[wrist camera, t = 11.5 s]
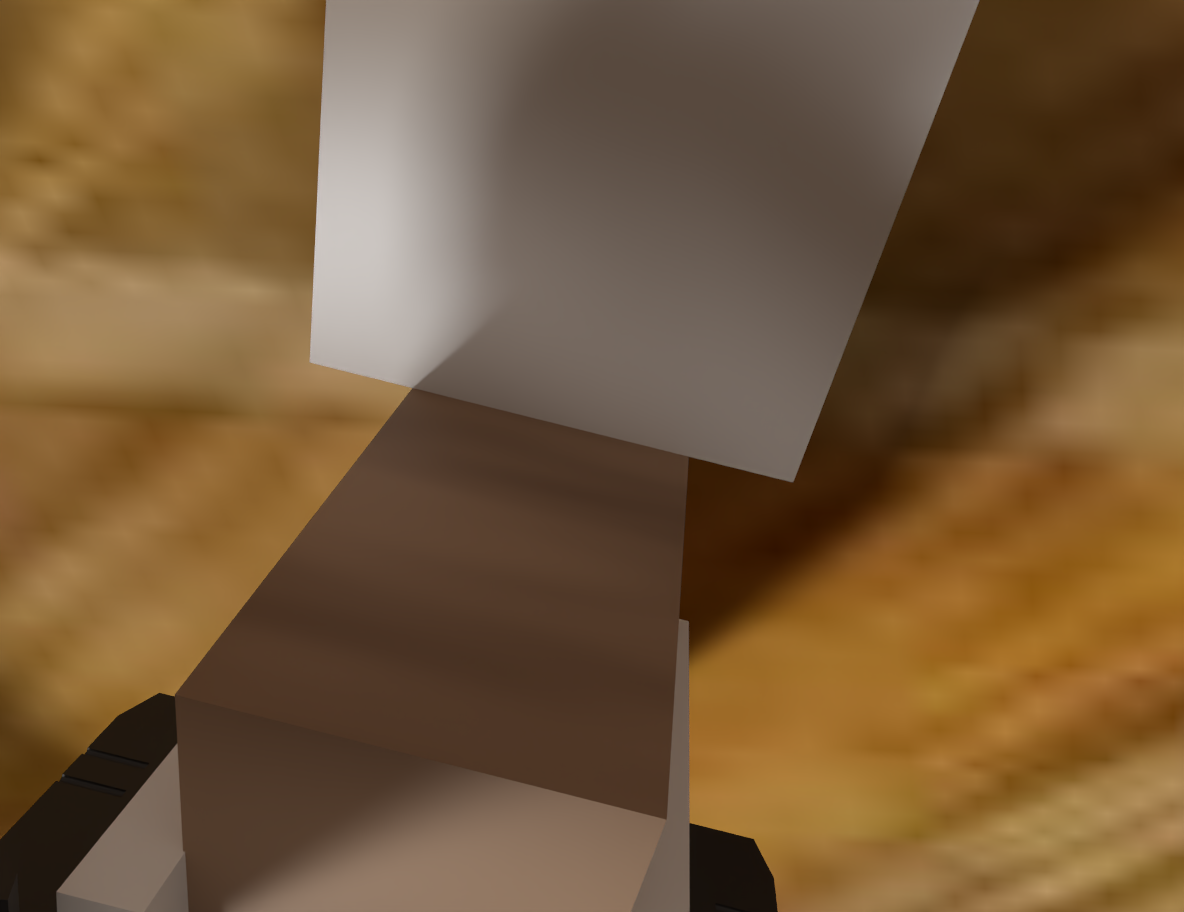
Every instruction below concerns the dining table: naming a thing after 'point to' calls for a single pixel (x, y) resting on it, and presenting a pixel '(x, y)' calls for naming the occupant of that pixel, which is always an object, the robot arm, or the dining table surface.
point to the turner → (539, 426)
